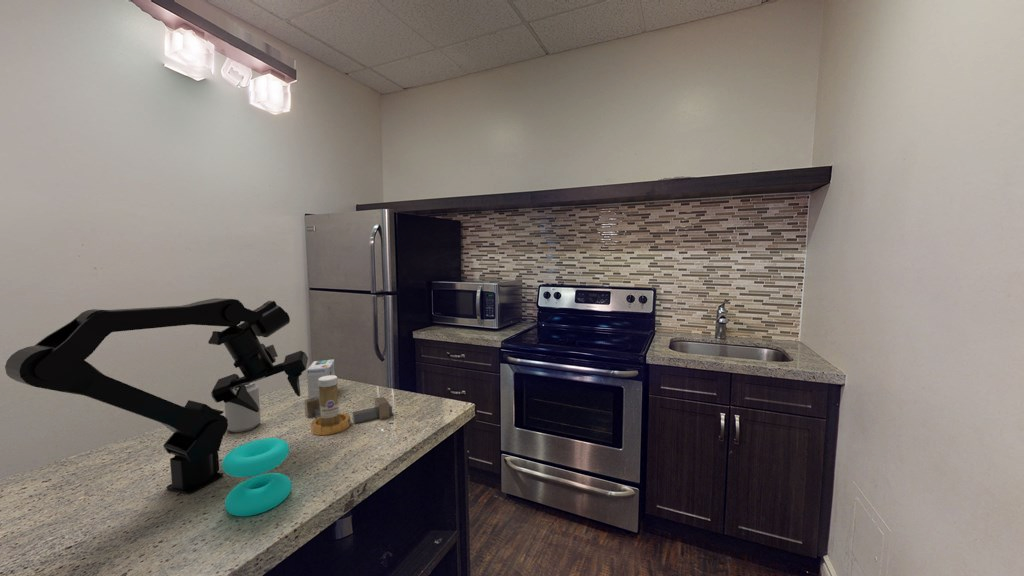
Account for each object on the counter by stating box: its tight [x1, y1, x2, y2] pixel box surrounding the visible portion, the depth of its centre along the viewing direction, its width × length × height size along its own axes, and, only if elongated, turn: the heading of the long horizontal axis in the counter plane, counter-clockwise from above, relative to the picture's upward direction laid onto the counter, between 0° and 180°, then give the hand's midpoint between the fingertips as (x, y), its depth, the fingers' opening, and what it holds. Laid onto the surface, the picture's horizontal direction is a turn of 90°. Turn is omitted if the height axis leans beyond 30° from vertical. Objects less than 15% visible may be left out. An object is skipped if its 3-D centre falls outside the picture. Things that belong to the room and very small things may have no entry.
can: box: [223, 381, 262, 433], centre depth 100 cm, size 8×8×12 cm
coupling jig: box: [304, 396, 393, 436], centre depth 103 cm, size 17×25×4 cm
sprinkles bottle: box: [318, 375, 340, 426], centre depth 99 cm, size 5×5×14 cm
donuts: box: [221, 437, 293, 517], centre depth 68 cm, size 10×10×10 cm
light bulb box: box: [306, 359, 336, 399], centre depth 123 cm, size 11×7×11 cm, turn 18°
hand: (279, 403), depth 90 cm, fingers open, 9 cm apart
